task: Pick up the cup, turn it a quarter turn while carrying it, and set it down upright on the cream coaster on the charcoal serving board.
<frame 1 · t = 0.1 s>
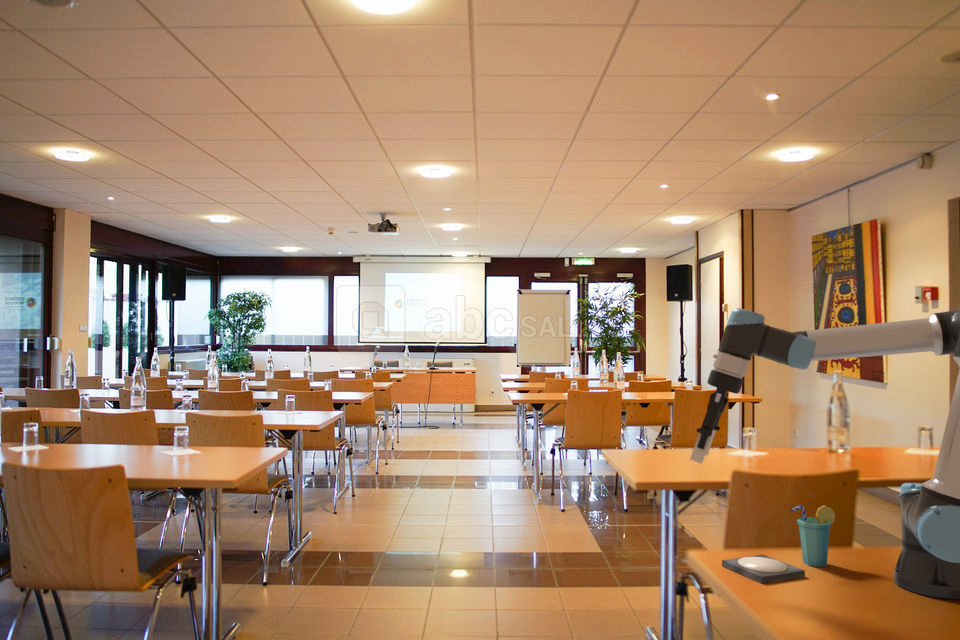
hand: (699, 457, 155), 28 cm above the table, tool tilted 20°, fingers open, 13 cm apart
cup: (812, 564, 162), on the table
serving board: (762, 571, 157), on the table
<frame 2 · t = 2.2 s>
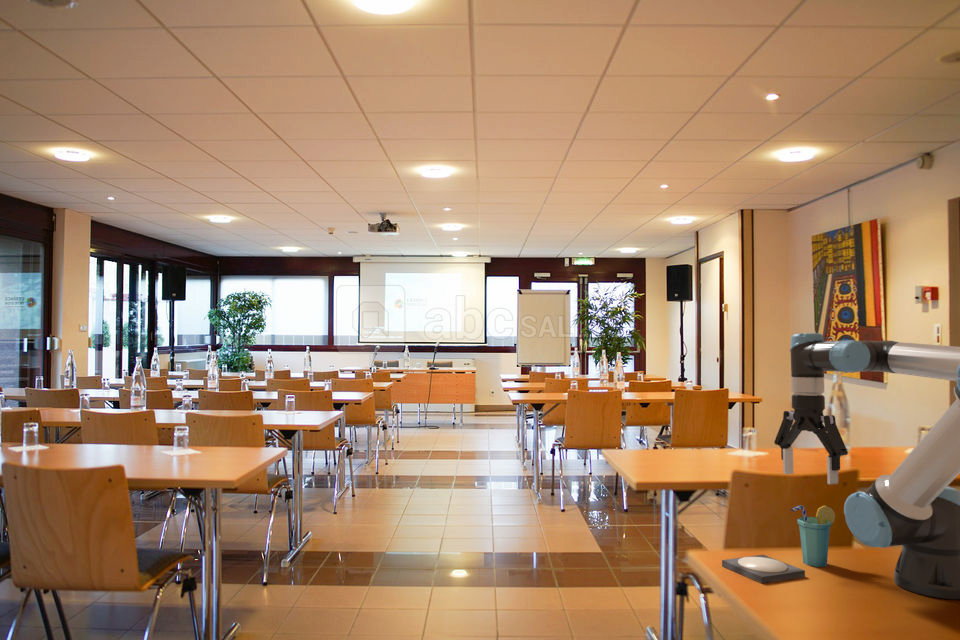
hand: (809, 478, 164), 21 cm above the table, tool pointing down, fingers open, 13 cm apart
nothing on the table moved.
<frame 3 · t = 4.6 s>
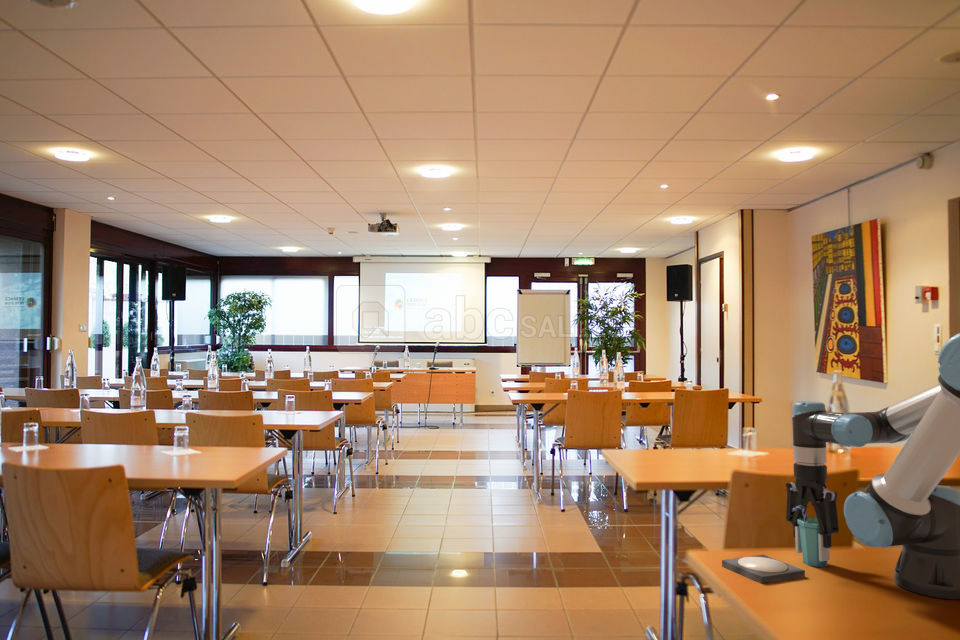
hand: (812, 556, 163), 2 cm above the table, tool pointing down, fingers closed on cup, 6 cm apart
cup: (812, 564, 162), on the table, touching gripper
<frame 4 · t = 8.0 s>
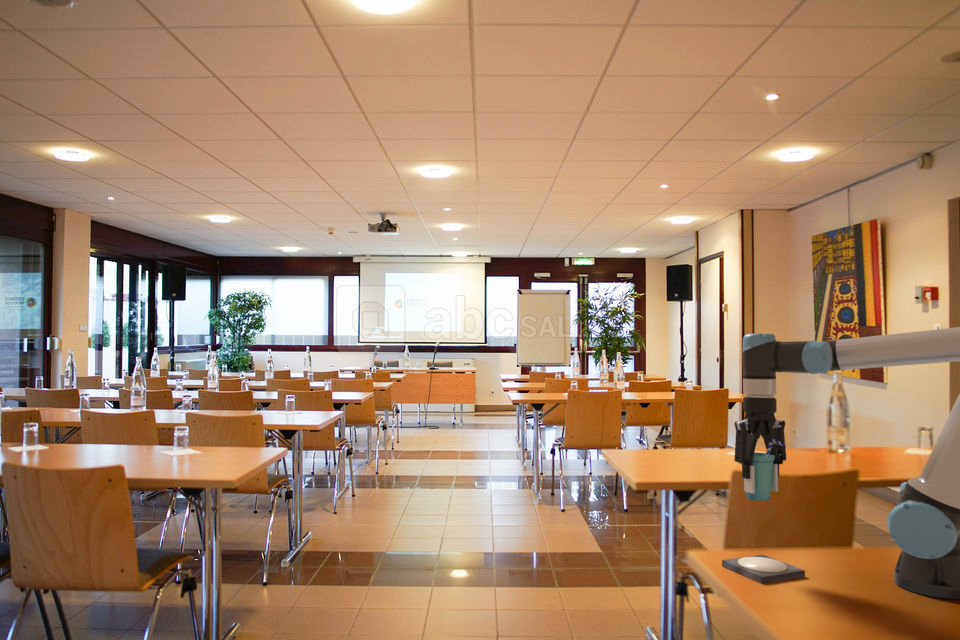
hand: (761, 491, 158), 19 cm above the table, tool pointing down, fingers closed on cup, 6 cm apart
cup: (761, 500, 158), point 17 cm above the table, touching gripper
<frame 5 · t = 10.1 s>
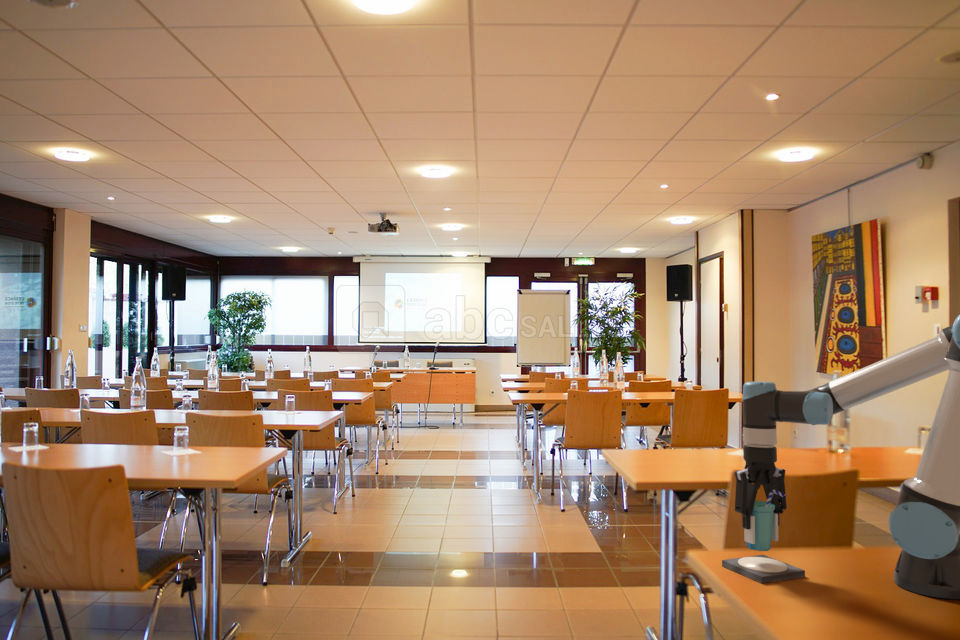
hand: (761, 540, 157), 7 cm above the table, tool pointing down, fingers closed on cup, 6 cm apart
cup: (761, 549, 157), point 5 cm above the table, touching gripper
when the fingers open (5 cm above the table, at t = 11.4 s): cup drops 1 cm, resting on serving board.
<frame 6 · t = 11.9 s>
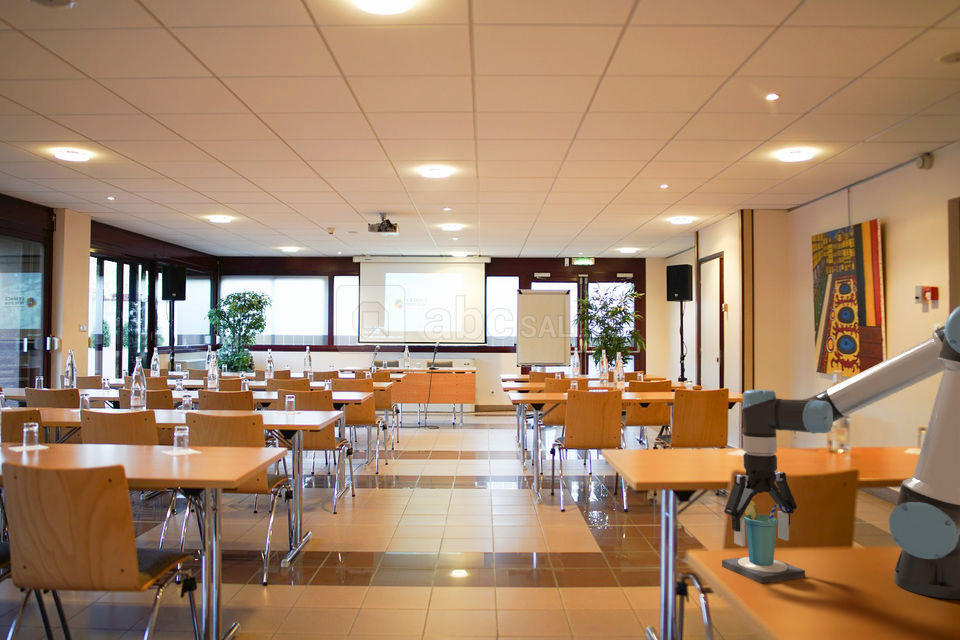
hand: (761, 542, 157), 7 cm above the table, tool pointing down, fingers open, 13 cm apart
cup: (764, 564, 157), point 2 cm above the table, touching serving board
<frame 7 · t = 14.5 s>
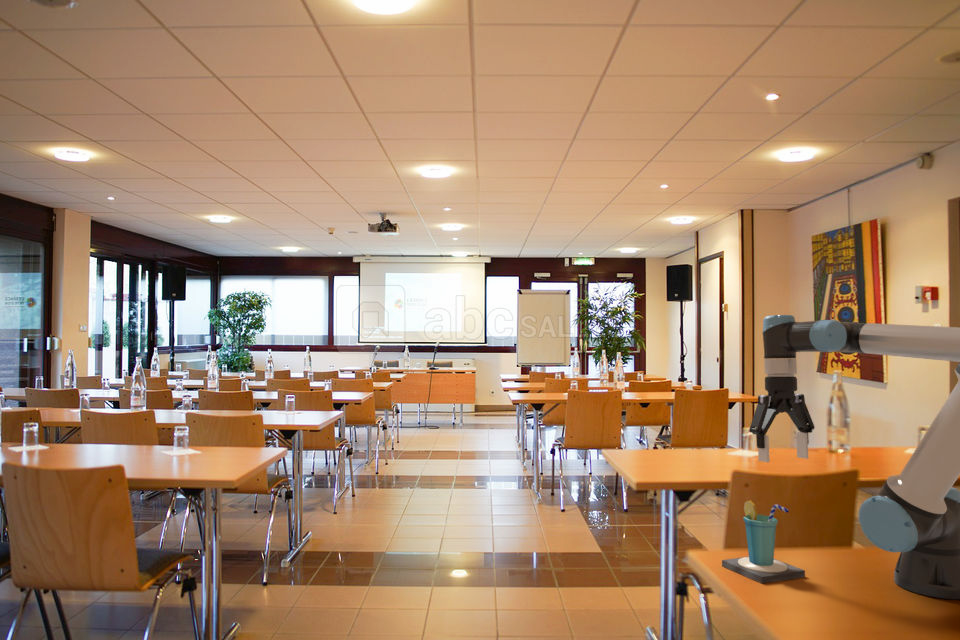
hand: (783, 459, 164), 26 cm above the table, tool pointing down, fingers open, 13 cm apart
nothing on the table moved.
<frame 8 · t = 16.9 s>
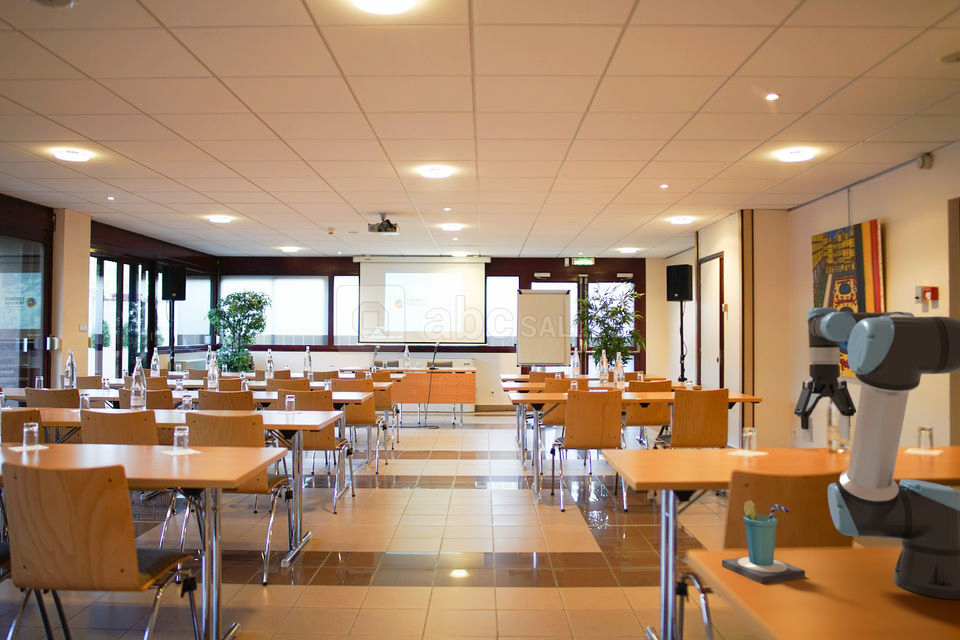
hand: (826, 440, 179), 29 cm above the table, tool pointing down, fingers open, 13 cm apart
nothing on the table moved.
at the end: cup inside the target area on the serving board (0.6 cm from its centre), point 1.6 cm above the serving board's base; cup tilted 0°; the gripper is holding nothing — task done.
